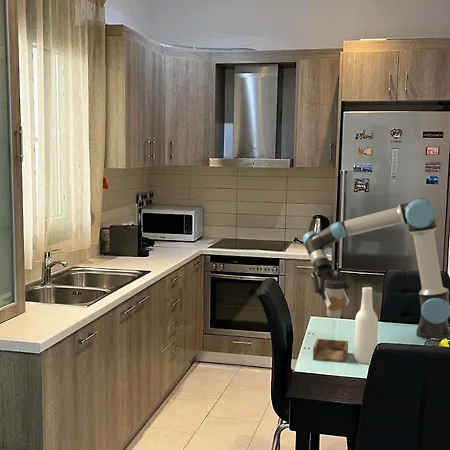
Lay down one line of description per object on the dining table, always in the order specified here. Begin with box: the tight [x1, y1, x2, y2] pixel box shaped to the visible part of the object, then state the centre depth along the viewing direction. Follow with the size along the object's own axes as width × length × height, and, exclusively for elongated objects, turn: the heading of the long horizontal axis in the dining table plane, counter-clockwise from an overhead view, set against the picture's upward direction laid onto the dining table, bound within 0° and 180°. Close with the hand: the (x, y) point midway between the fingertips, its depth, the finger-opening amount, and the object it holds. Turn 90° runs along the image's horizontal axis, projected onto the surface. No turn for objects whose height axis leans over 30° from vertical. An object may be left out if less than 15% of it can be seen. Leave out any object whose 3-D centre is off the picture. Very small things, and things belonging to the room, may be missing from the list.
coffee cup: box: [324, 280, 344, 318], centre depth 256 cm, size 8×8×15 cm
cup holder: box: [312, 338, 349, 363], centre depth 245 cm, size 13×13×5 cm
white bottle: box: [353, 286, 379, 365], centre depth 238 cm, size 9×9×30 cm
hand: (338, 304), depth 254 cm, fingers closed on coffee cup, 8 cm apart
